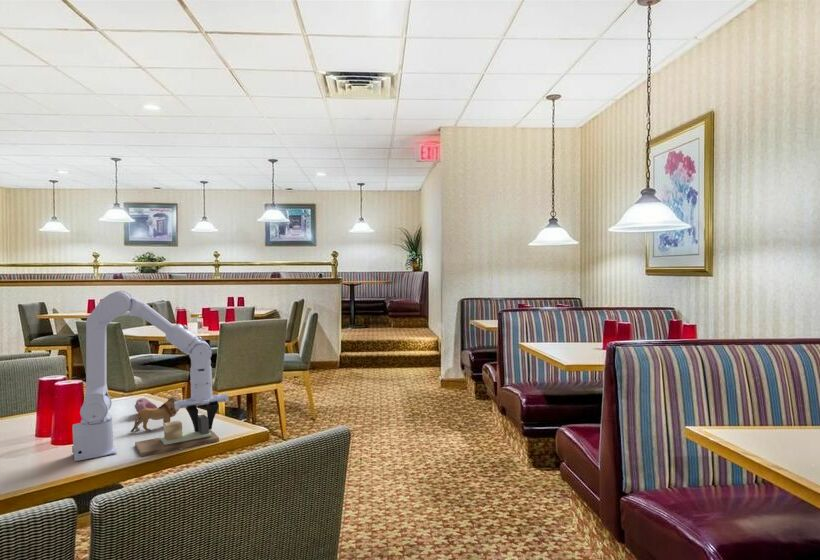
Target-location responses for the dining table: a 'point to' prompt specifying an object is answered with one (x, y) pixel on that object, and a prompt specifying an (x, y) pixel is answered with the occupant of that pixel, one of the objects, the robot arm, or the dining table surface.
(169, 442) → the grey holder stand
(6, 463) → the dining table surface
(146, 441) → the board
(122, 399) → the dining table surface
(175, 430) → the cube
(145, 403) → the pink purple rounded lump
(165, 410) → the lion figurine
